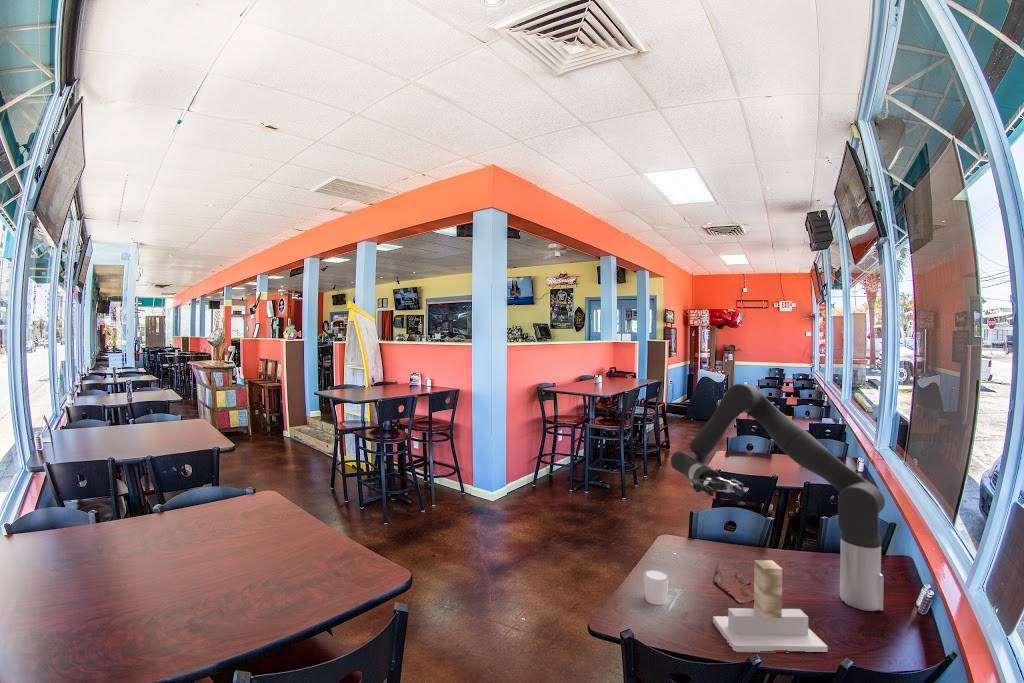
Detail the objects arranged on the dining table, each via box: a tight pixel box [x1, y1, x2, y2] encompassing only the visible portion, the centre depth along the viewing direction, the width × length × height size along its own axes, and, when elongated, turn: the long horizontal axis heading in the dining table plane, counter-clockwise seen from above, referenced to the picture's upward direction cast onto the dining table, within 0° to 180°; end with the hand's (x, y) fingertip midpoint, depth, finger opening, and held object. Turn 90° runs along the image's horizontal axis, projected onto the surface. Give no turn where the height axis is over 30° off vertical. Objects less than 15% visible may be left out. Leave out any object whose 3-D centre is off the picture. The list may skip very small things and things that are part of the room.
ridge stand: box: [712, 607, 829, 653], centre depth 120 cm, size 22×12×6 cm, turn 90°
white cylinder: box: [643, 569, 670, 606], centre depth 136 cm, size 7×7×7 cm
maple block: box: [753, 559, 783, 618], centre depth 120 cm, size 4×4×12 cm
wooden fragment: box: [713, 568, 754, 603], centre depth 147 cm, size 26×11×1 cm, turn 167°
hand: (727, 493), depth 140 cm, fingers open, 8 cm apart
